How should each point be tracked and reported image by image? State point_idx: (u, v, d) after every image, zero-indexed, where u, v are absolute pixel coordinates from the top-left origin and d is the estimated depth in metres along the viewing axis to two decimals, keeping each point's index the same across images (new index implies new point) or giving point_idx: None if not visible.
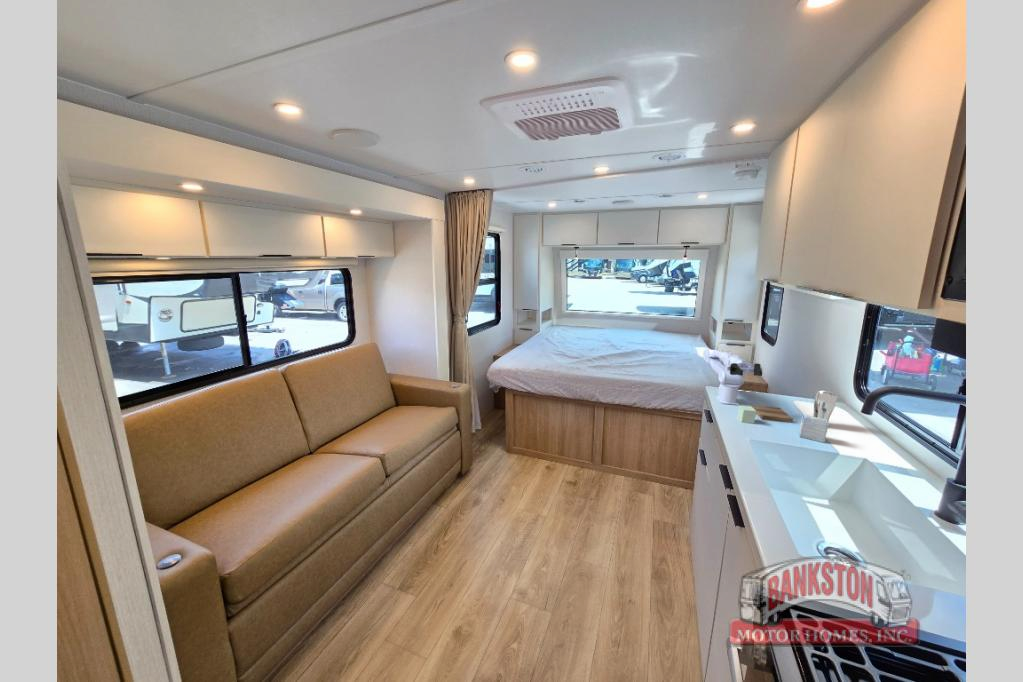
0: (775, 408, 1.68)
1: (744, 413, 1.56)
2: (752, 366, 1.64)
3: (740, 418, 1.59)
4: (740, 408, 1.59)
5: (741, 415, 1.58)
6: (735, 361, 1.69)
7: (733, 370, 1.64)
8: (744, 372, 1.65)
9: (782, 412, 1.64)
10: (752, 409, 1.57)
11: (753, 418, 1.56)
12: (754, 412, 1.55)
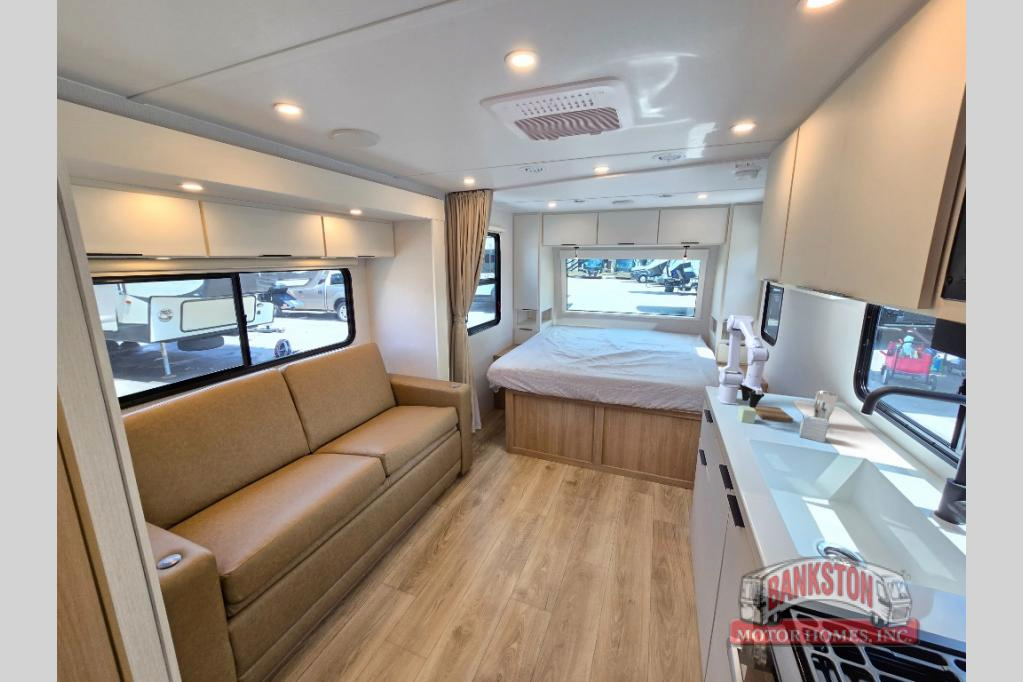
0: (775, 408, 1.68)
1: (744, 413, 1.56)
2: None
3: (740, 418, 1.59)
4: (740, 408, 1.59)
5: (741, 415, 1.58)
6: None
7: None
8: None
9: (782, 412, 1.64)
10: (752, 409, 1.57)
11: (753, 418, 1.56)
12: (754, 412, 1.55)
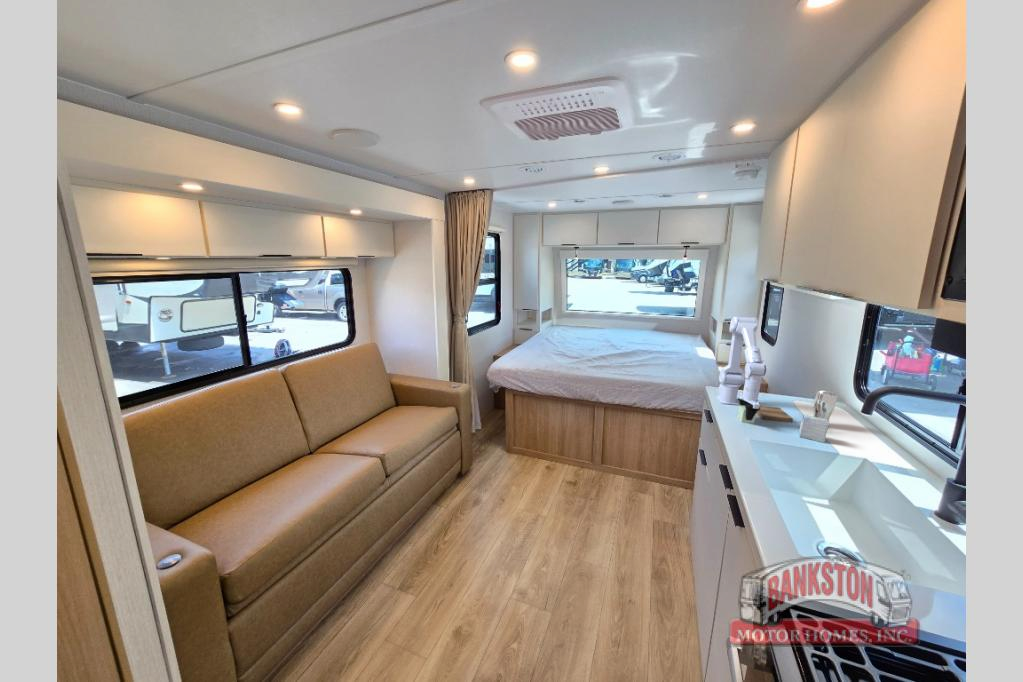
0: (775, 408, 1.68)
1: (745, 413, 1.56)
2: None
3: (740, 418, 1.59)
4: (740, 408, 1.59)
5: (741, 415, 1.58)
6: None
7: None
8: None
9: (782, 412, 1.64)
10: None
11: (753, 418, 1.56)
12: None
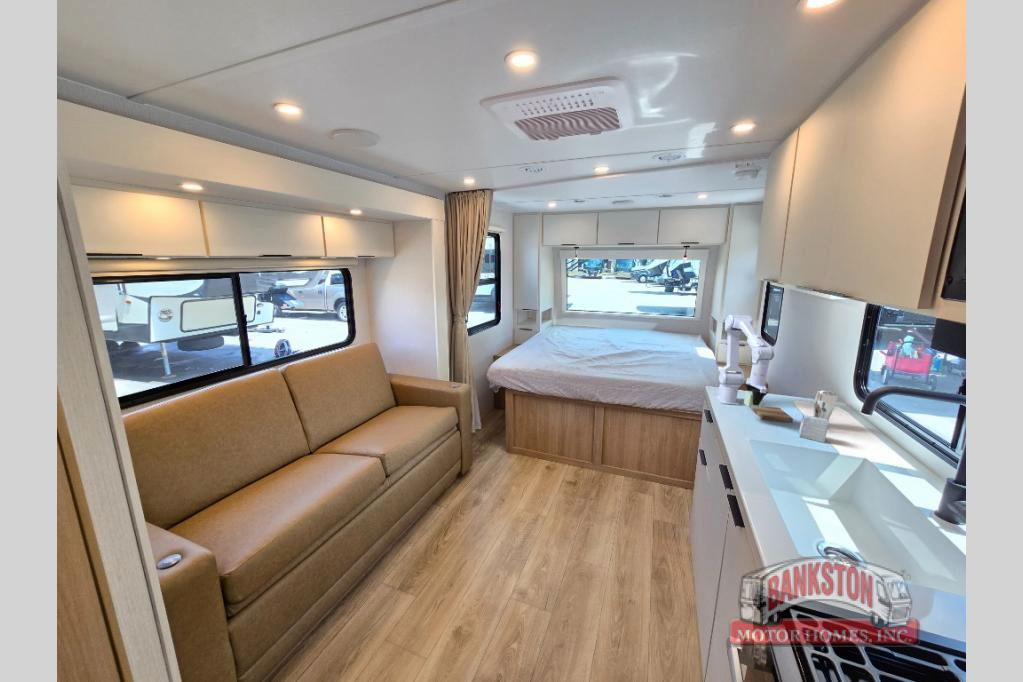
0: (775, 408, 1.68)
1: (751, 398, 1.56)
2: None
3: (747, 403, 1.58)
4: (747, 393, 1.59)
5: (748, 400, 1.57)
6: None
7: None
8: None
9: (782, 412, 1.64)
10: None
11: (760, 403, 1.55)
12: None
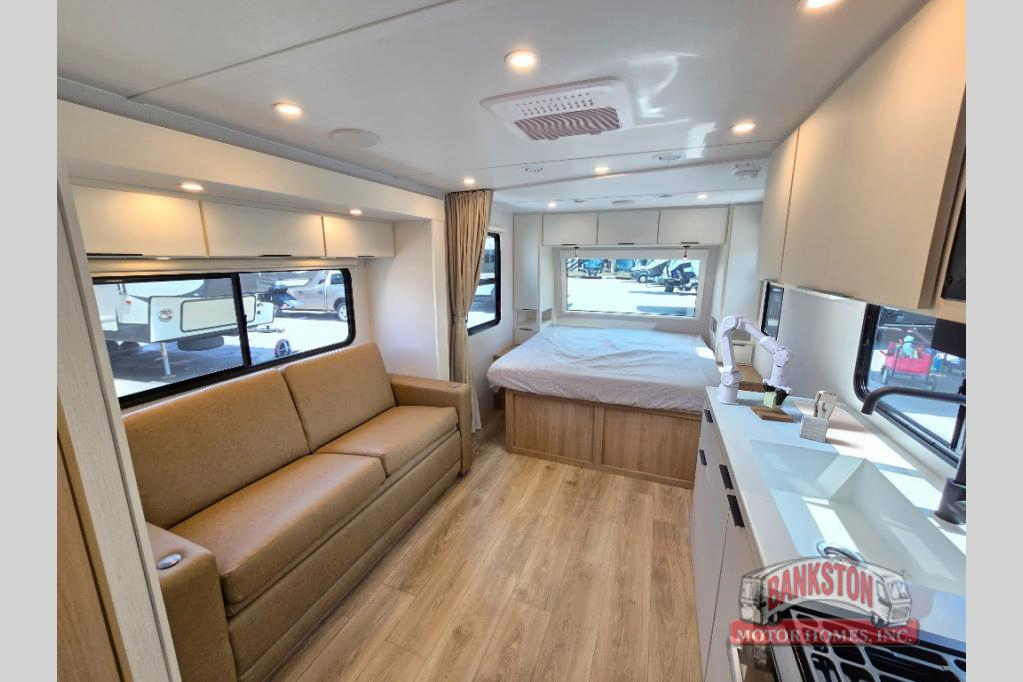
0: (775, 408, 1.68)
1: (774, 399, 1.60)
2: None
3: (769, 404, 1.63)
4: (767, 394, 1.63)
5: (770, 401, 1.62)
6: (771, 374, 1.62)
7: None
8: None
9: (782, 412, 1.64)
10: None
11: None
12: None
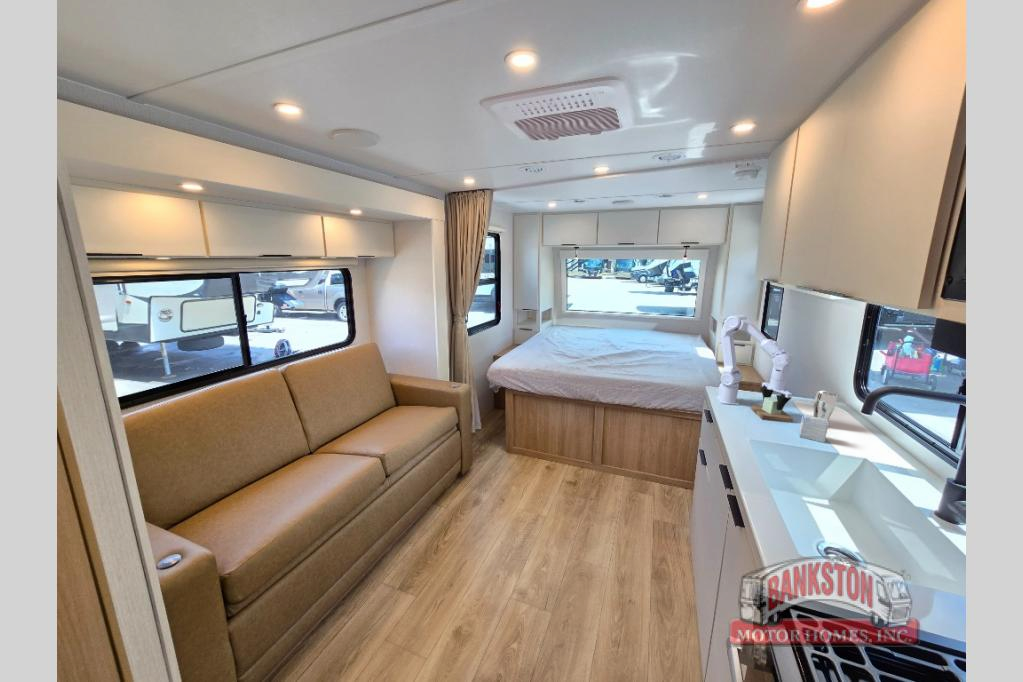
0: None
1: (773, 405, 1.61)
2: None
3: (768, 410, 1.63)
4: (766, 400, 1.64)
5: (769, 407, 1.62)
6: None
7: None
8: None
9: (782, 412, 1.64)
10: None
11: None
12: None
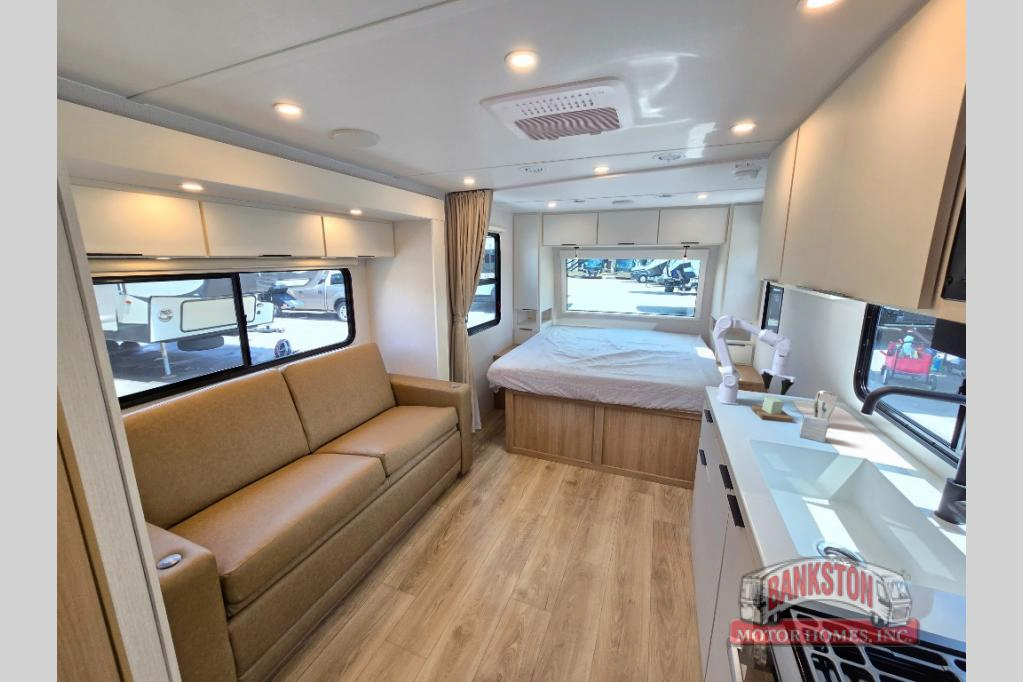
0: None
1: (773, 405, 1.61)
2: None
3: (768, 410, 1.63)
4: (766, 400, 1.64)
5: (769, 407, 1.62)
6: None
7: None
8: None
9: (782, 412, 1.64)
10: (778, 400, 1.62)
11: (780, 409, 1.62)
12: (781, 403, 1.61)
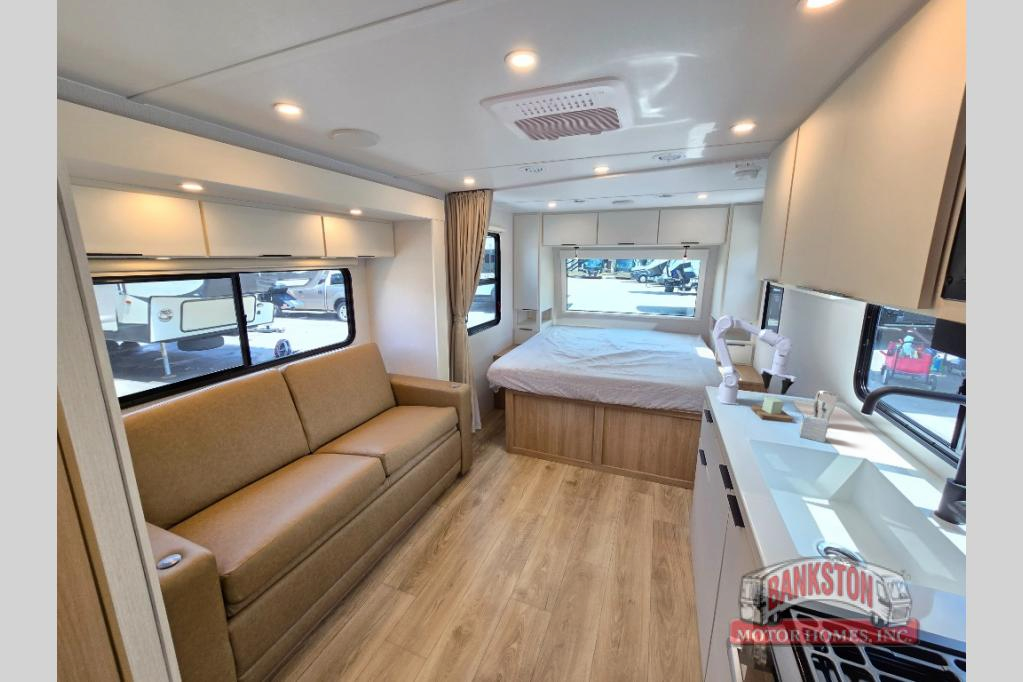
0: None
1: (773, 405, 1.61)
2: None
3: (768, 410, 1.63)
4: (766, 400, 1.64)
5: (769, 407, 1.62)
6: None
7: None
8: None
9: (782, 412, 1.64)
10: (778, 400, 1.62)
11: (780, 409, 1.62)
12: (781, 403, 1.61)
